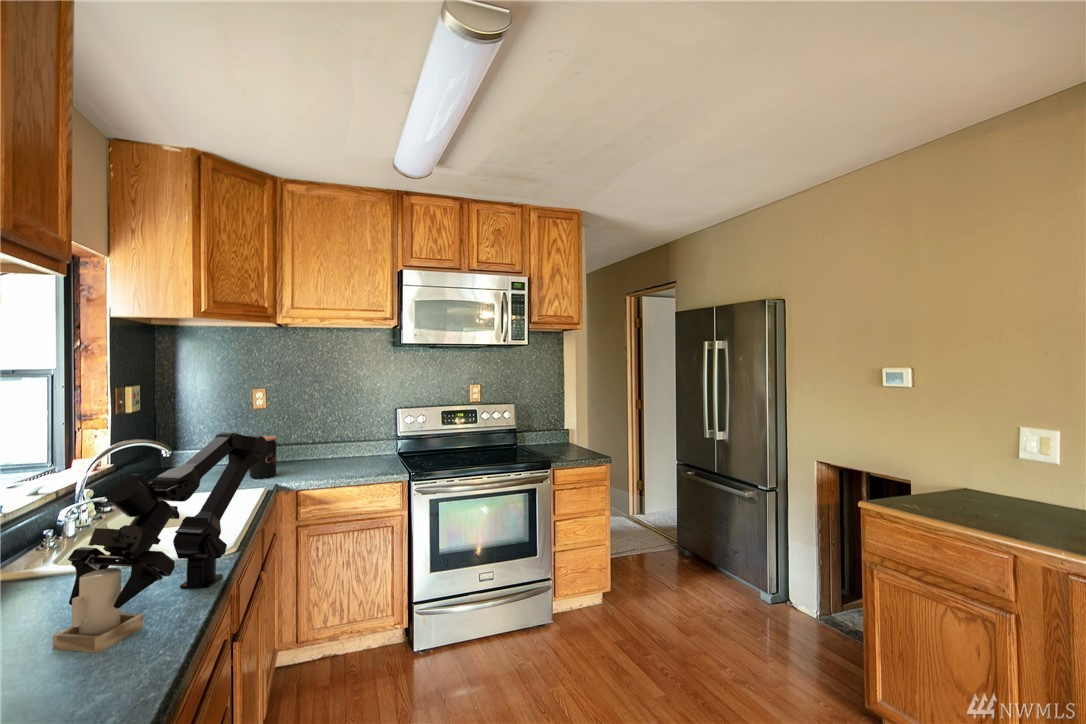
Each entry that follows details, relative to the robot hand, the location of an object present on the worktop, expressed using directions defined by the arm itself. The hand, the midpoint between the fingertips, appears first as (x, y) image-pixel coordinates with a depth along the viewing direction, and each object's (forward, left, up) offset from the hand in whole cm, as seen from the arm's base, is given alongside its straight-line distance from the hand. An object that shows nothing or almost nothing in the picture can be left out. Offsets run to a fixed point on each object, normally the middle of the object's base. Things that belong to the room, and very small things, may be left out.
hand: (93, 606), depth 97 cm
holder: (-1, 0, -7) cm, 7 cm away
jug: (-1, 0, -7) cm, 7 cm away
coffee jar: (-143, -32, -7) cm, 147 cm away
